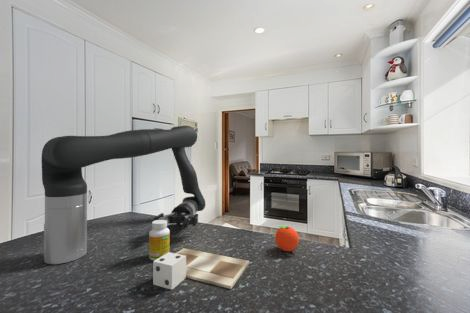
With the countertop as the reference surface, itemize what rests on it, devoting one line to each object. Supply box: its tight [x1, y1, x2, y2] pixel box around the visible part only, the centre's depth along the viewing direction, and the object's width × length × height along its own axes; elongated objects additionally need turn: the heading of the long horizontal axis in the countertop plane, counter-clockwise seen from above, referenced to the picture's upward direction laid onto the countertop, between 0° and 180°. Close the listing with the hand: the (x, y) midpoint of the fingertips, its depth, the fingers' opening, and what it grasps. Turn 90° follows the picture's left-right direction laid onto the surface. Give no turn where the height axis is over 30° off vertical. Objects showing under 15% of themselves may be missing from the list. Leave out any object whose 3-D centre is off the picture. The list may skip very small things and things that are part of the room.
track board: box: [174, 247, 250, 290], centre depth 55 cm, size 20×12×1 cm, turn 68°
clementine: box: [272, 225, 300, 252], centre depth 65 cm, size 8×7×7 cm
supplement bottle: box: [148, 220, 171, 261], centre depth 60 cm, size 5×5×10 cm
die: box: [152, 251, 186, 290], centre depth 49 cm, size 5×5×5 cm
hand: (170, 226), depth 68 cm, fingers open, 8 cm apart
